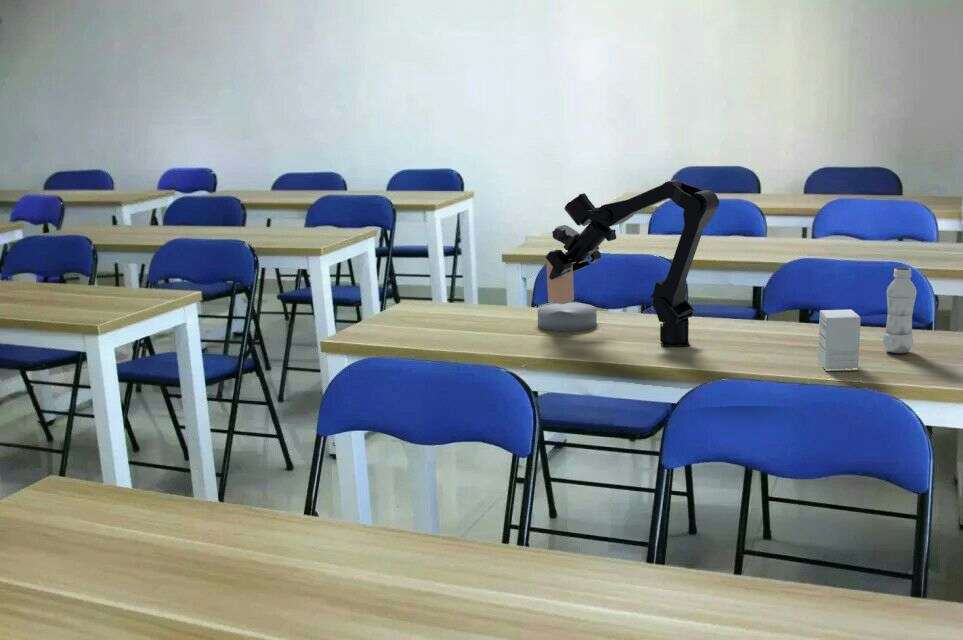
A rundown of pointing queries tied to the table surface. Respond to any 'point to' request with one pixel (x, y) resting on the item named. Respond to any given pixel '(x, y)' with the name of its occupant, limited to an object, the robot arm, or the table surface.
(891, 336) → the plastic bottle
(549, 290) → the terracotta block
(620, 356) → the table surface
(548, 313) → the plinth
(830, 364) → the supplement box
